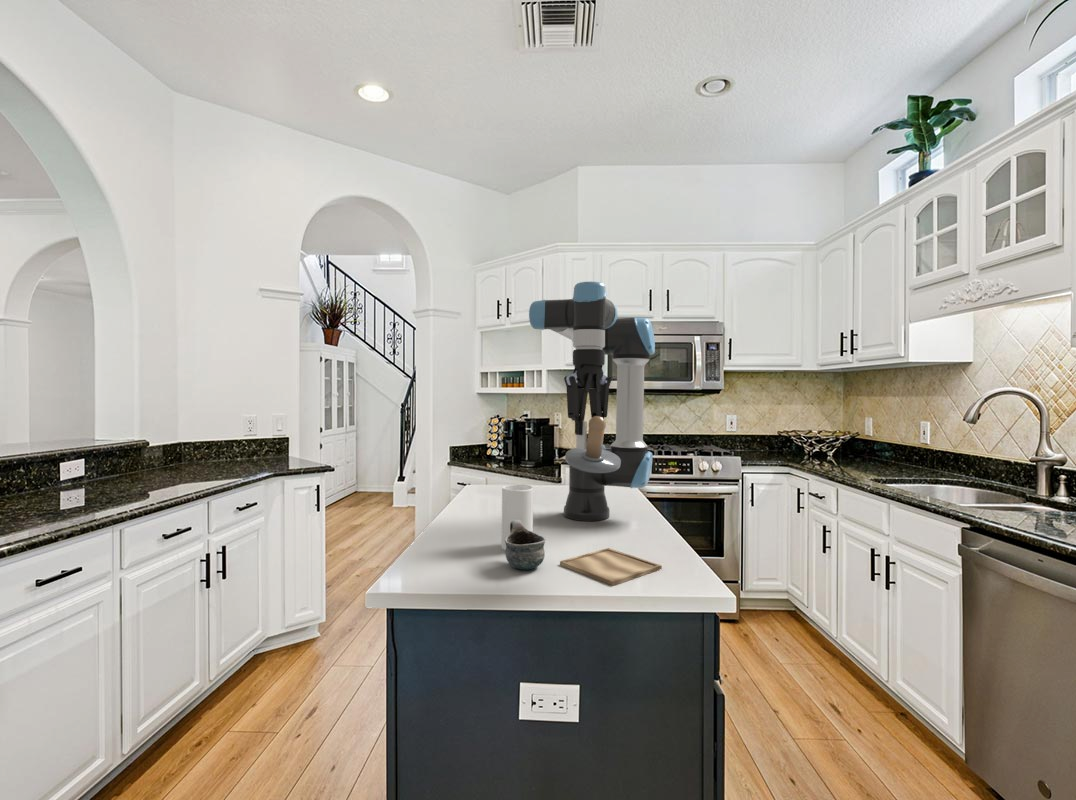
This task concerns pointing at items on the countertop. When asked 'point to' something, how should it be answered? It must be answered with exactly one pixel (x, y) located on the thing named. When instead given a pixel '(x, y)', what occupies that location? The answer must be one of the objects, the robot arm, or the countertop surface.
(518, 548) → the mug
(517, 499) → the cup
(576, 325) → the robot arm
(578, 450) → the lid
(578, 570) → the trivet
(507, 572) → the countertop surface
